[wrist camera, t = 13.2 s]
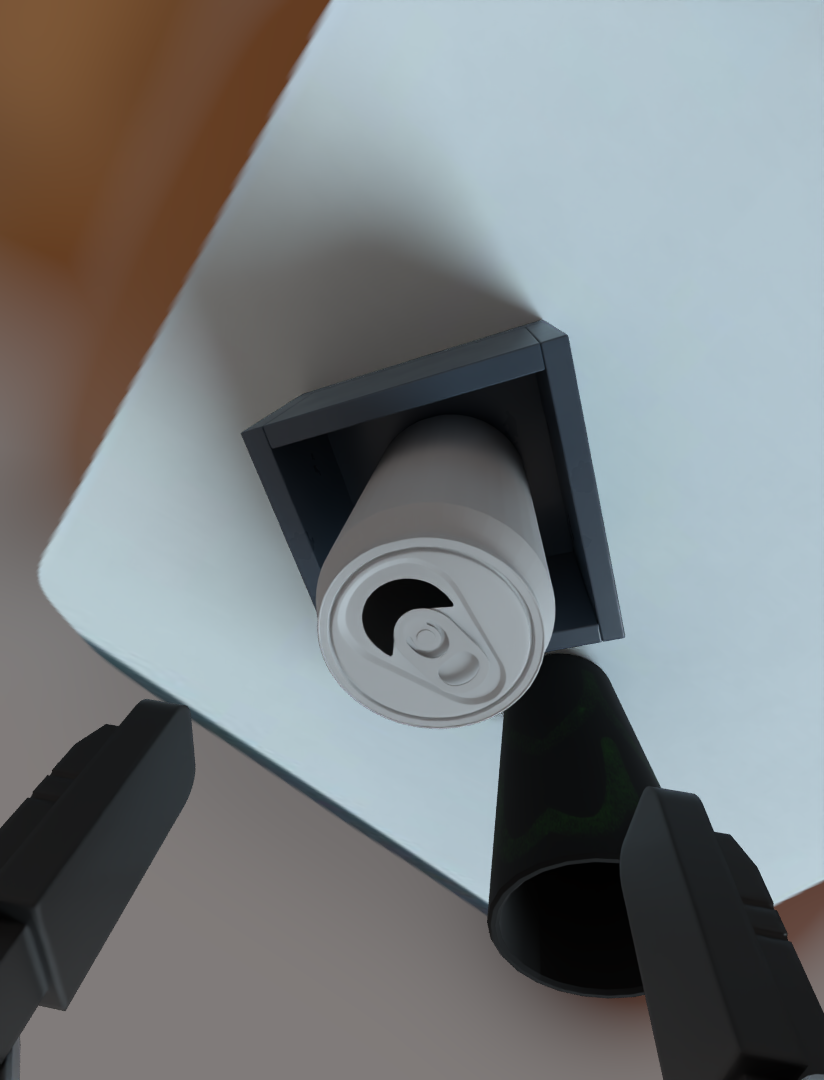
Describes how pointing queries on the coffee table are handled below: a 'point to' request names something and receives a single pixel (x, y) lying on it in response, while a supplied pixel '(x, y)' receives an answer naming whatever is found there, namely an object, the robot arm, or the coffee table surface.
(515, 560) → the beverage can
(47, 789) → the robot arm
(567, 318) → the coffee table surface
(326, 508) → the open box
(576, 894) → the cup
